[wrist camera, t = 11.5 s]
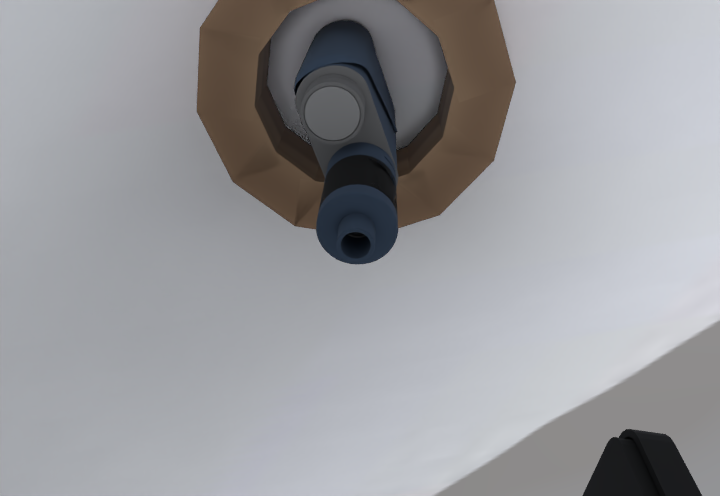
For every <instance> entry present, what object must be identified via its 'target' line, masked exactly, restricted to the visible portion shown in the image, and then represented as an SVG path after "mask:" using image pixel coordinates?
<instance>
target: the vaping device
mask: <svg viewBox="0 0 720 496" xmlns="http://www.w3.org/2000/svg"><path fill="white" fill-rule="evenodd" d="M294 91H295V95H296V99H295V101H296V107H297V111H298V113H299V116H300V119H301V122H302V125H303V127H304V129H305V130H306V133H307V135H308V138H309V140H310V143H311V145H312V147H313V150H314V152H315V155H316V157H317V160H318V162H319V165H320V167H321V169H322V172H323V174H324V177H325V181H324V187H323V188H324V189H323V191H322V197H321V202H320V207H319V212H318V217H317V222H316V231H317V236H318V239H319V242H320V243H321V245H322V247H323V248H324V249H325V250H326V252H328V253H329V254H330V255H331V256H332V257H334V258H336V259H337V260H340V261H342V262H345V263H349V264H366V263H371V262H373V261H376V260H378V259H380V258H381V257H383V256H384V255H385V254H387V253H388V252H389V250H390V249H391V248H392V247H393V245H394V243H395V241H396V238H397V234H398V216H397V200H396V199H397V192H396V191H397V190H396V187H397V184H398V171H397V154H396V132H397V129H396V125H395V110H394V106H393V103H392V100H391V97H390V94H389V91H388V88H387V85H386V82H385V79H384V76H383V73H382V70H381V67H380V64H379V61H378V58H377V55H376V51H375V48H374V44H373V40H372V38H371V35H370V33H369V32H368V30H367V29H365V28H364V27H363V26H362V25H361V24H358V23H355V22H353V21H343V20H342V21H337V22H333V23H330V24H329V25H327V26H325V27H323V28H322V29H321V30H320V31H319V32H318V33H317V34H316V36H315V37H314V39H313V41H312V43H311V45H310V48H309V50H308V52H307V54H306V57H305V59H304V61H303V63H302V66H301V68H300V70H299V73H298V75H297V77H296V81H295V87H294ZM323 194H324V195H323ZM395 195H396V197H395ZM324 198H325V199H324Z"/></svg>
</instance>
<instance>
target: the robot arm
mask: <svg viewBox="0 0 720 496" xmlns="http://www.w3.org/2000/svg"><path fill="white" fill-rule="evenodd" d="M583 496H702V495H701V493H700V491H699V489H698V487H697V485H696V483H695V481H694V480H693V478H692V476H691V474H690V472H689V470H688V468H687V466H686V464H685V463H684V461H683V459H682V457H681V455H680V453H679V451H678V449H677V448H676V446H675V444H674V442H673V441H672V439H671V438H670V437H669V436H667V435H666V434H660V433H653V432H646V431H639V430H632V429H626V430H625V431H623V432H622V433H621V435H620V436H619V438H617V437H613V438H611V439H610V440H609V442H608V443H607V445H606V447H605V449H604V452H603V454H602V456H601V458H600V460H599V462H598V464H597V467H596V468H595V471H594V473H593V475H592V477H591V479H590V481H589V483H588V485H587V487H586V490H585V492H584V494H583Z"/></svg>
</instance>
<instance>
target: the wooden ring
mask: <svg viewBox="0 0 720 496" xmlns="http://www.w3.org/2000/svg"><path fill="white" fill-rule="evenodd" d="M314 1H317V0H218V2H217V3H216V5H215V6H214V8H213V9H212V11H211V12H210V14H209V15H208V17H207V18H206V20H205V21H204V23H203V24H202V26H201V27H200V39H199V66H198V92H197V113H198V115H199V117H200V119H201V121H202V123H203V125H204V126H205V128H206V130H207V132H208V134H209V136H210V138H211V140H212V142H213V144H214V146H215V148H216V150H217V152H218V154H219V156H220V158H221V160H222V162H223V164H224V166H225V167H226V169H227V171H228V173H229V175H230V177H231V179H232V182H234V183H235V184H237V185H238V186H239V187H241V188H242V189H244V190H245V191H246V192H248V193H249V194H251V195H252V196H253V197H255V198H256V199H258V200H259V201H260V202H262V203H263V204H265V205H266V206H267V207H269V208H270V209H272V210H273V211H275V212H276V213H277V214H279V215H280V216H282V217H283V218H284V219H286V220H287V221H289V222H290V223H291V224H293V225H294V226H298V227H304V228H311V229H316V222H317V217H318V212H319V207H320V202H321V197H322V191H323V189H324V188H323V187H324V181H325V177H324V174H323V172H322V169H321V167H320V165H319V162H318V160H317V157H316V155H315V152H314V150H313V147H311V146H310V145H309V144H308V143H306V142H305V141H304V140H302V139H301V138H300V137H298V136H297V135H296V134H294V133H293V132H292V131H290V130H289V129H288V128H287V127H286V126H285V124H284V122H283V120H282V118H281V115H280V113H279V111H278V109H277V107H276V104H275V102H274V100H273V98H272V95H271V93H270V91H269V89H268V87H267V75H268V64H269V53H270V42H271V37H272V35H273V34H274V33H275V31H276V30H277V29H278V27H279V26H280V24H281V23H282V22H283V20H284V19H285V18H286V16H287V15H288V13H289V12H290V11H292V10H294V9H297V8H299V7H302V6H304V5H307V4H309V3H312V2H314ZM397 1H398V2H400V3H401V4H402V5H403V6H404V7H405V8H406V9H407V10H409V11H410V12H411V13H412V14H413V15H414V16H415V17H416V18H418V19H419V20H420V21H421V22H422V23H423V24H424V25H426V26H427V27H428V28H429V29H430V30H431V31H432V32H433V33H435V34H436V35H437V36H438V38H439V41H440V44H441V48H442V51H443V54H444V57H445V60H446V63H447V67H448V69H447V74H446V78H445V82H444V87H443V91H442V96H441V100H440V104H439V109H438V113H437V114H436V116H435V117H434V118H433V119H432V120H431V121H430V122H429V123H428V124H427V125H426V127H425V128H424V129H423V130H422V131H421V132H420V133H419V134H418V135H417V136H416V138H415V139H414V140H413V141H412V142H411V143H410V144H409V145H408V146H407V147H405V148H402V149H399V150H396V154H397V171H398V184H397V187H396V190H397V191H396V192H397V199H396V200H397V216H398V228H400V227H404V226H407V225H410V224H413V223H416V222H419V221H422V220H426V219H429V218H432V217H435V216H438V215H440V214H441V213H442V212H443V211H444V210H445V209H446V208H447V207H448V206H449V205H450V204H451V203H452V202H453V201H454V200H455V199H456V198H457V197H458V196H459V195H460V194H461V193H462V192H463V191H464V190H465V189H466V188H467V187H468V186H469V185H470V184H471V183H472V182H473V181H474V180H475V179H476V178H477V177H478V176H479V175H480V174H481V173H482V172H483V171H484V170H485V169H486V168H487V167H488V166H489V165H490V164H491V163H492V162H493V161H494V158H495V155H496V151H497V147H498V144H499V140H500V137H501V133H502V130H503V126H504V123H505V119H506V115H507V112H508V108H509V105H510V101H511V98H512V94H513V90H514V87H515V83H516V81H515V77H514V74H513V70H512V66H511V62H510V59H509V55H508V51H507V47H506V44H505V40H504V36H503V32H502V29H501V25H500V21H499V17H498V14H497V10H496V6H495V2H494V0H397ZM323 195H324V194H323ZM395 197H396V195H395ZM324 199H325V198H324Z"/></svg>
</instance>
